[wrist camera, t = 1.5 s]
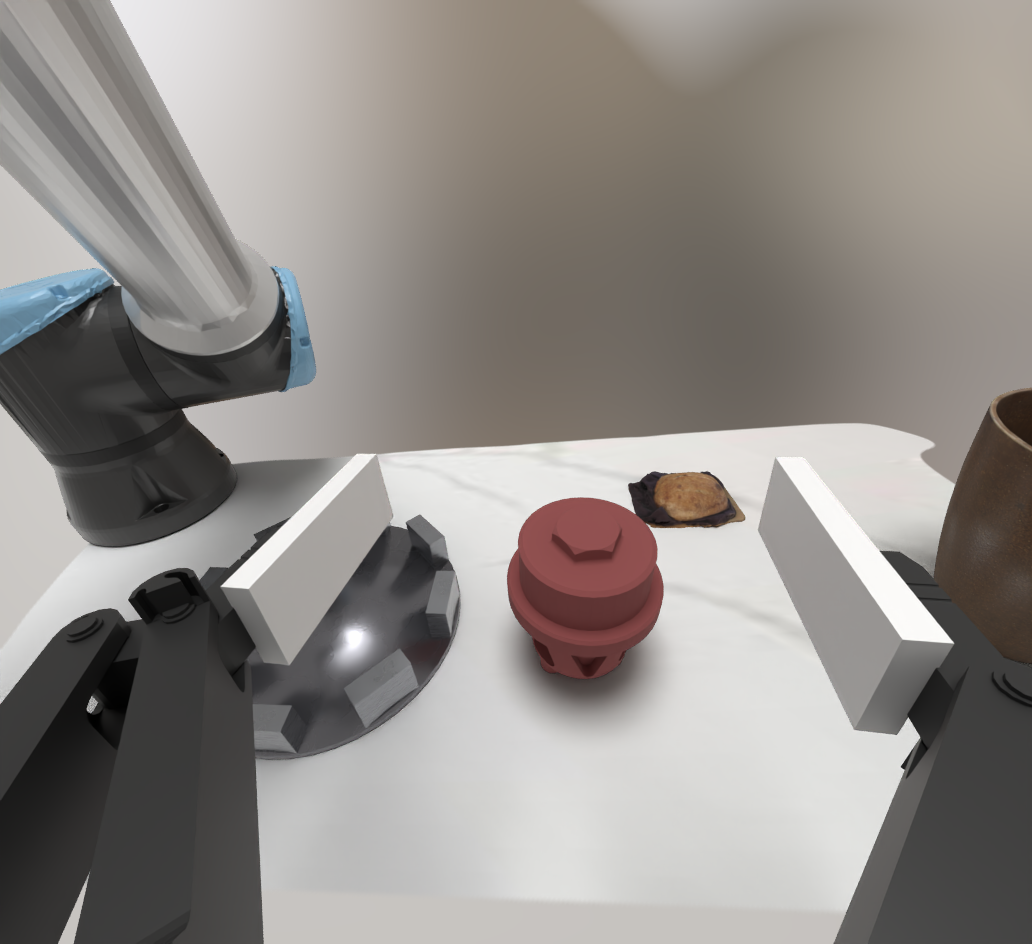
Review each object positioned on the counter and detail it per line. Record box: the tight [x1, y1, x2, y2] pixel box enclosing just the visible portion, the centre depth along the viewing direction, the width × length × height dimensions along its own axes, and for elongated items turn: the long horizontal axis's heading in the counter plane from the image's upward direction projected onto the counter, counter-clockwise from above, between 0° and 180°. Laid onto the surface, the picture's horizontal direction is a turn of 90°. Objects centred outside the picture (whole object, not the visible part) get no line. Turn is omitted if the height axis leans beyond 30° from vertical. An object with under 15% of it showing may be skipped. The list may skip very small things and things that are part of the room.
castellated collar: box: [200, 515, 460, 760], centre depth 35 cm, size 21×21×4 cm
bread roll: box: [628, 472, 745, 528], centre depth 45 cm, size 11×8×4 cm
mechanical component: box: [507, 498, 663, 679], centre depth 29 cm, size 12×10×10 cm
